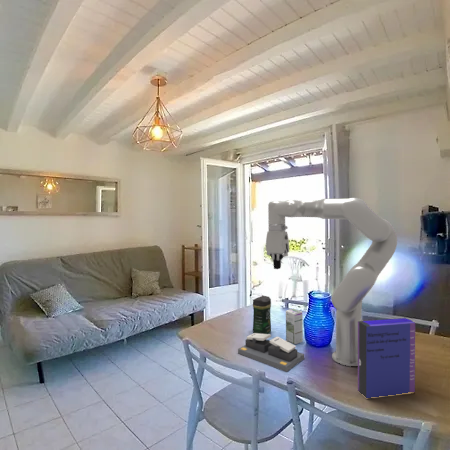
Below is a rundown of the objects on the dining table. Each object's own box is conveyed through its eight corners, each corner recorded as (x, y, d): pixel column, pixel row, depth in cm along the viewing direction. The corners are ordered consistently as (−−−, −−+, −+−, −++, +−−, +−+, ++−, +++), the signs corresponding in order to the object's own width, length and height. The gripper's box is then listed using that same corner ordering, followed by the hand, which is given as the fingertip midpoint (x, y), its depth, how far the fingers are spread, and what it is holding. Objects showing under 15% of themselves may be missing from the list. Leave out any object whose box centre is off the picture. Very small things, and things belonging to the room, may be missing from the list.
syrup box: (303, 341, 144) (303, 311, 144) (294, 344, 141) (293, 313, 141) (294, 337, 149) (294, 308, 149) (285, 340, 146) (285, 310, 146)
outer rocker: (271, 336, 133) (270, 334, 133) (263, 340, 129) (263, 338, 129) (254, 335, 139) (254, 332, 139) (246, 339, 135) (246, 336, 135)
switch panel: (304, 358, 127) (304, 342, 127) (286, 371, 117) (286, 354, 117) (257, 343, 144) (257, 328, 143) (238, 353, 133) (237, 337, 133)
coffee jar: (264, 338, 149) (264, 300, 148) (250, 334, 154) (250, 297, 153) (273, 332, 157) (273, 295, 156) (260, 328, 161) (259, 293, 161)
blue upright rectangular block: (404, 385, 107) (404, 317, 106) (414, 393, 102) (415, 322, 101) (357, 391, 104) (357, 320, 103) (366, 399, 99) (366, 325, 98)
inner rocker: (295, 348, 125) (295, 345, 125) (288, 353, 121) (288, 350, 121) (276, 338, 131) (277, 336, 131) (269, 342, 127) (269, 340, 127)
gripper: (295, 228, 138) (295, 269, 138) (267, 227, 148) (268, 265, 148) (286, 229, 132) (287, 271, 133) (258, 228, 142) (259, 268, 143)
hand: (277, 268), depth 141 cm, fingers closed
